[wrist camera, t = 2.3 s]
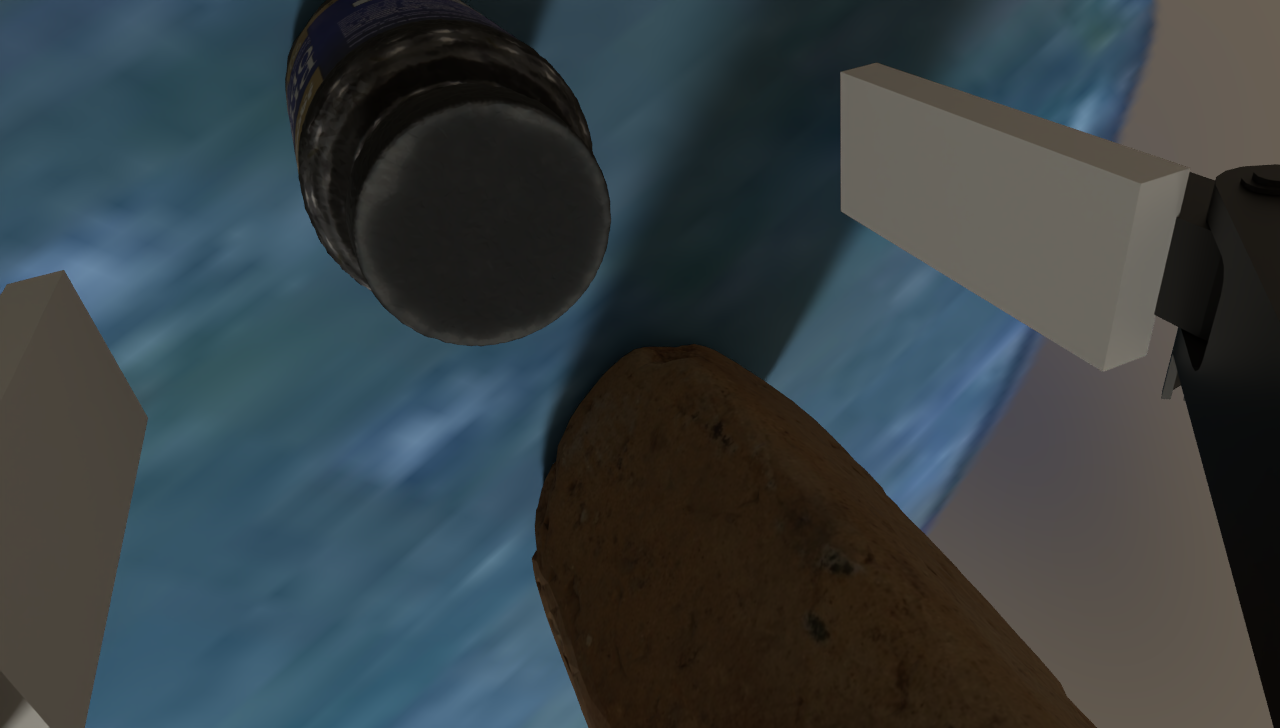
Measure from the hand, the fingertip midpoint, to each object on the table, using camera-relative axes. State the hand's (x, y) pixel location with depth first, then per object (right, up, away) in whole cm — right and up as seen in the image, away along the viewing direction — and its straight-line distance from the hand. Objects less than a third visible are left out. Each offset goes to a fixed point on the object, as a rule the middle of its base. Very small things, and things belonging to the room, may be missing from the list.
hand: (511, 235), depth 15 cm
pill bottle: (-5, +5, +10) cm, 12 cm away
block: (+2, -5, +19) cm, 20 cm away
